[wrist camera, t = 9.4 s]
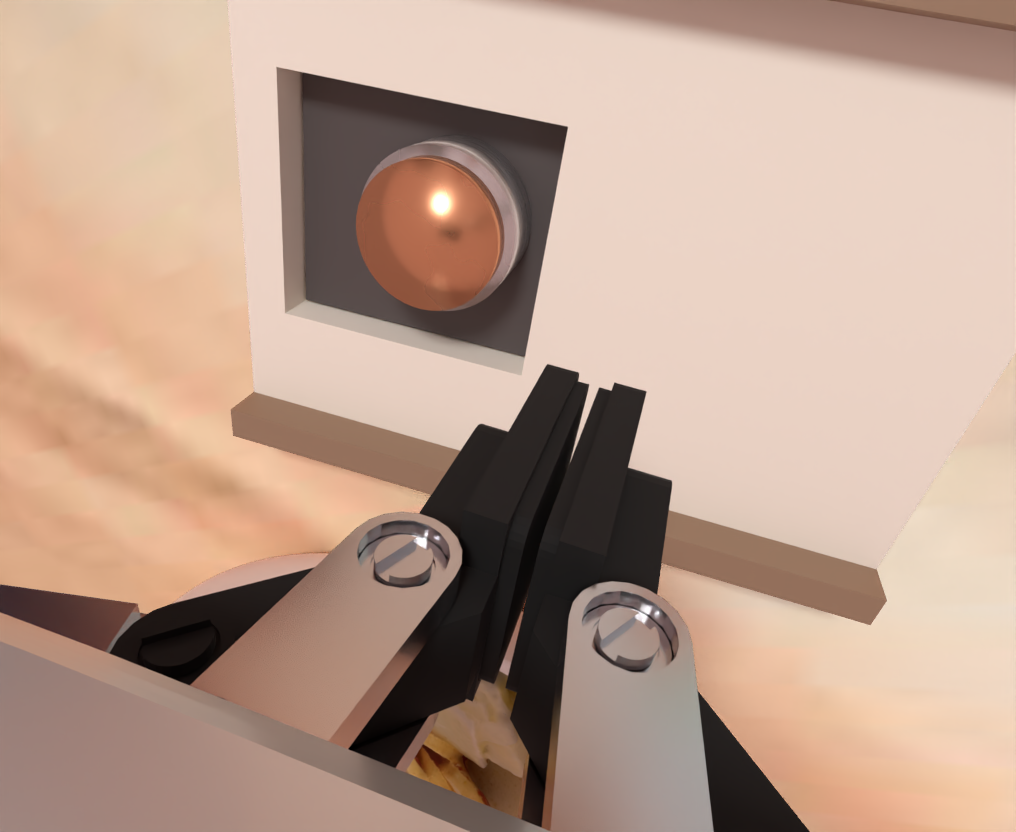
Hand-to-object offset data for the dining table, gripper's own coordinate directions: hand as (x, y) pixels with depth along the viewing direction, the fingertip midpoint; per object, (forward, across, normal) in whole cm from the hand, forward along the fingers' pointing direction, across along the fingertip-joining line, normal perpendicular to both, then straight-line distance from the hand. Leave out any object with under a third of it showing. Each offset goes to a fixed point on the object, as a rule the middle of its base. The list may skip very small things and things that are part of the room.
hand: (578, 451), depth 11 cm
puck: (+11, +6, 0) cm, 13 cm away
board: (+12, +2, +1) cm, 12 cm away
